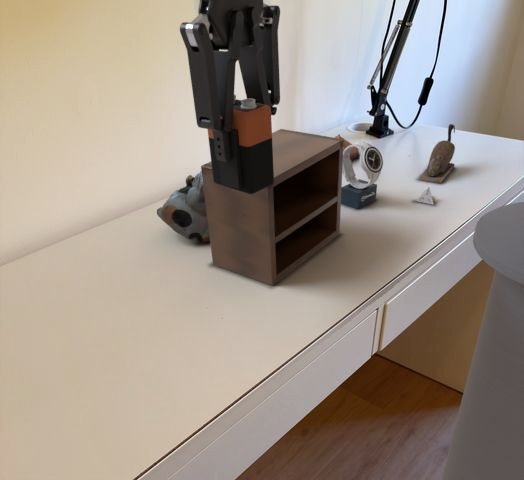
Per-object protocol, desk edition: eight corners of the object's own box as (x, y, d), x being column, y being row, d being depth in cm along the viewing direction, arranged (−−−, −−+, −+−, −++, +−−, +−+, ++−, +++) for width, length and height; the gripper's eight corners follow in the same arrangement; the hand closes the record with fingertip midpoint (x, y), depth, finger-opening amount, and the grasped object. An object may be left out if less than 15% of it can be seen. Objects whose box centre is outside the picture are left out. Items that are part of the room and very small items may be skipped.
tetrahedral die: (437, 204, 102) (441, 188, 101) (433, 204, 100) (437, 188, 98) (420, 201, 103) (424, 185, 102) (415, 201, 101) (419, 185, 100)
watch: (365, 211, 99) (370, 152, 92) (333, 200, 103) (335, 143, 97) (384, 202, 101) (389, 144, 95) (351, 192, 106) (354, 135, 99)
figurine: (439, 158, 118) (445, 118, 113) (459, 161, 116) (467, 120, 111) (419, 180, 109) (425, 136, 104) (440, 183, 107) (448, 139, 102)
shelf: (339, 234, 92) (343, 139, 82) (272, 285, 80) (267, 181, 70) (283, 219, 98) (281, 128, 88) (212, 265, 86) (200, 165, 76)
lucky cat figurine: (197, 206, 104) (226, 142, 96) (240, 243, 101) (273, 180, 93) (142, 213, 92) (169, 140, 84) (189, 255, 89) (221, 184, 81)
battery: (236, 173, 68) (229, 89, 62) (276, 184, 64) (272, 96, 58) (211, 184, 66) (201, 97, 59) (251, 196, 62) (245, 105, 56)
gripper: (252, -68, 57) (265, 151, 71) (128, -57, 46) (173, 198, 61) (311, -72, 53) (311, 160, 68) (191, -62, 42) (222, 211, 57)
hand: (246, 177), depth 64 cm, fingers closed on battery, 5 cm apart
